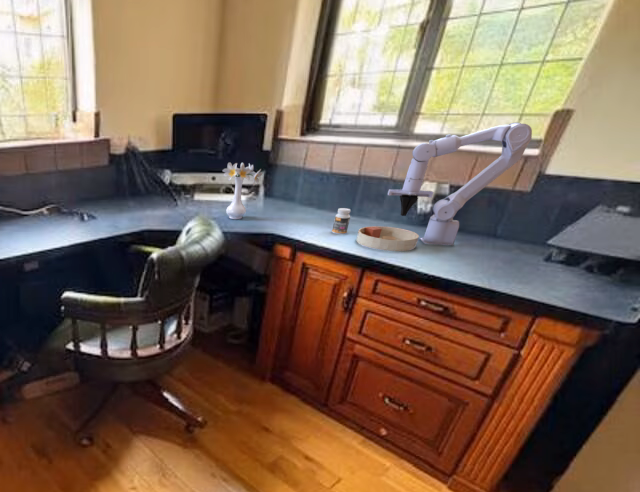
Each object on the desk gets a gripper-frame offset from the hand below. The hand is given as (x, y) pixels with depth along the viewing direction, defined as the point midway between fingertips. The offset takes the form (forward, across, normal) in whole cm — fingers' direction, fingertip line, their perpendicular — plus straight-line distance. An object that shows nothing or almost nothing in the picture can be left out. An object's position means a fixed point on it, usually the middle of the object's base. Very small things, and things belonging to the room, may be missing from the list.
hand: (403, 215), depth 163 cm
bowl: (+10, -6, -9) cm, 14 cm away
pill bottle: (+10, -20, +4) cm, 23 cm away
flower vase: (+11, -64, +22) cm, 69 cm away
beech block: (+9, -6, -16) cm, 20 cm away
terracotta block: (+9, -9, -3) cm, 13 cm away
